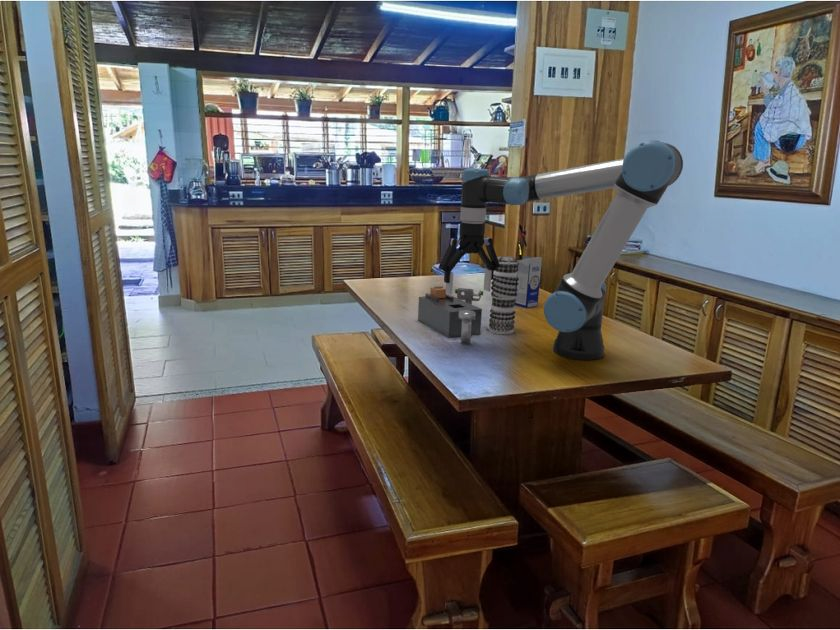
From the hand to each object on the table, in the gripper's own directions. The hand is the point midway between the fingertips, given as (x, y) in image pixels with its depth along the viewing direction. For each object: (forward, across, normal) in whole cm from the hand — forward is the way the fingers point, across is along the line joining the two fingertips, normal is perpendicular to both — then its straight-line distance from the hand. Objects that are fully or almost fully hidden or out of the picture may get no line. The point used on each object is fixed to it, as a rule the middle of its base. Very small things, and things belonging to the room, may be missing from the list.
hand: (468, 292), depth 178 cm
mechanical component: (+17, -18, -28) cm, 37 cm away
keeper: (+8, -4, -26) cm, 27 cm away
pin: (+16, 0, 0) cm, 16 cm away
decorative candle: (+17, -19, -8) cm, 26 cm away
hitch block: (+16, -4, -18) cm, 25 cm away
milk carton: (+17, -49, -34) cm, 62 cm away
